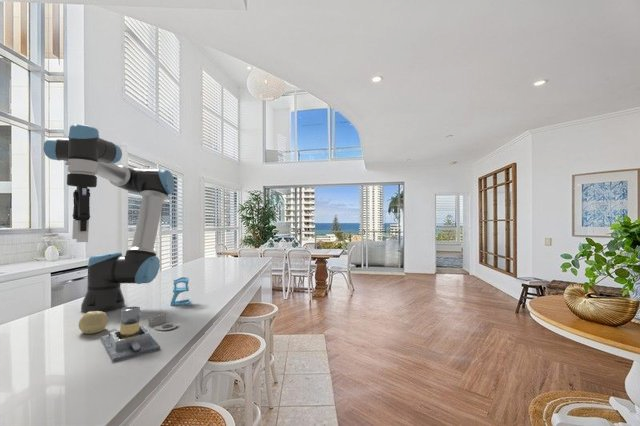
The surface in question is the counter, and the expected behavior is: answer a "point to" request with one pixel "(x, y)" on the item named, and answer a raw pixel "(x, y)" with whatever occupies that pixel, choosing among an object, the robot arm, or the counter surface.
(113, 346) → the coupling board
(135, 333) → the gold and grey cylinder
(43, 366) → the counter surface
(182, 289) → the chair
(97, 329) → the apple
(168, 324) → the bracket
